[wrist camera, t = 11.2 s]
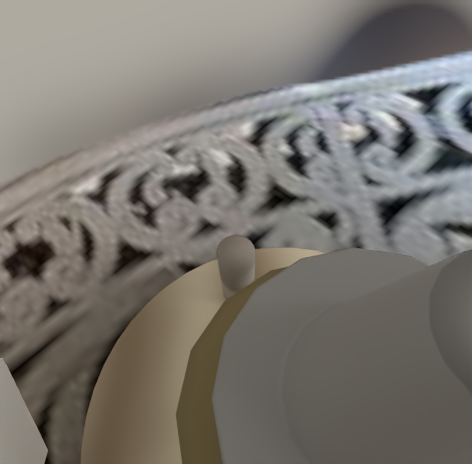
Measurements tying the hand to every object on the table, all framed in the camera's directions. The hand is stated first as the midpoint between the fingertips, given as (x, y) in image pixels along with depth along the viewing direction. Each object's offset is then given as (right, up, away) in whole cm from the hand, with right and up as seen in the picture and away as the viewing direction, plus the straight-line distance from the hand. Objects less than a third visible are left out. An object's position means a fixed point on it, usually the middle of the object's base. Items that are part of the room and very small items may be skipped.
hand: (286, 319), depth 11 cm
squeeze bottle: (+1, -7, +8) cm, 11 cm away
